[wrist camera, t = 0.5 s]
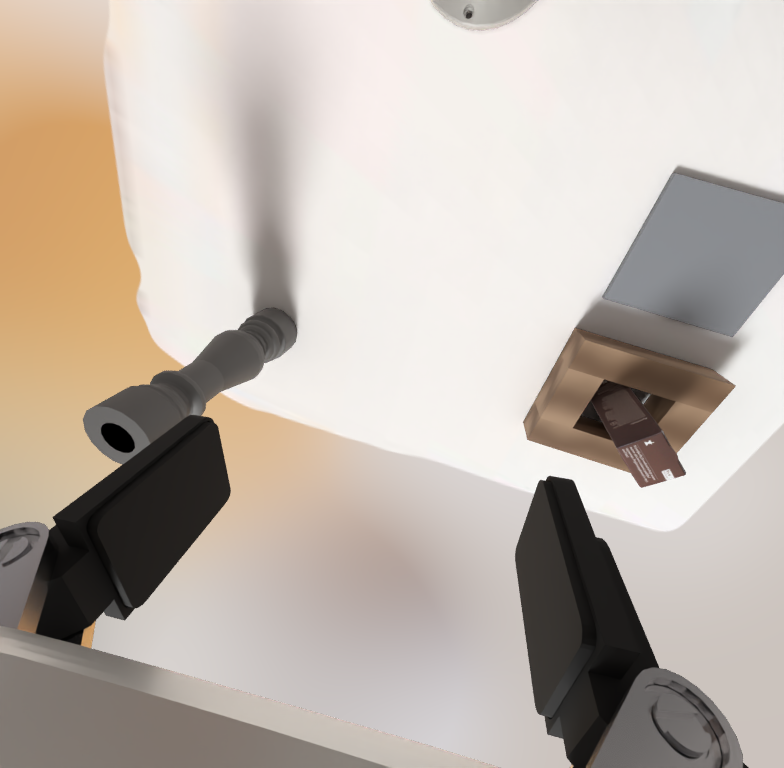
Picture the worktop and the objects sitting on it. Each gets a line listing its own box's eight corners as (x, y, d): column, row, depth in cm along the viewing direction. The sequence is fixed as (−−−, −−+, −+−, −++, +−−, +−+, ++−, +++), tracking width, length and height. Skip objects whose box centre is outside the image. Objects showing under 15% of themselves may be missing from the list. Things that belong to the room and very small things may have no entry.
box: (580, 388, 44) (615, 448, 33) (618, 371, 42) (668, 428, 31) (601, 423, 45) (641, 490, 35) (638, 408, 43) (692, 474, 33)
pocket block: (575, 327, 40) (585, 340, 37) (712, 369, 40) (735, 385, 36) (523, 421, 47) (527, 439, 44) (639, 459, 47) (653, 480, 43)
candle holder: (303, 346, 48) (170, 466, 27) (265, 354, 50) (112, 472, 29) (286, 303, 46) (124, 397, 24) (247, 312, 48) (63, 408, 26)
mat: (672, 173, 32) (675, 173, 32) (824, 216, 32) (830, 216, 31) (602, 297, 38) (604, 298, 38) (729, 335, 38) (732, 336, 37)
